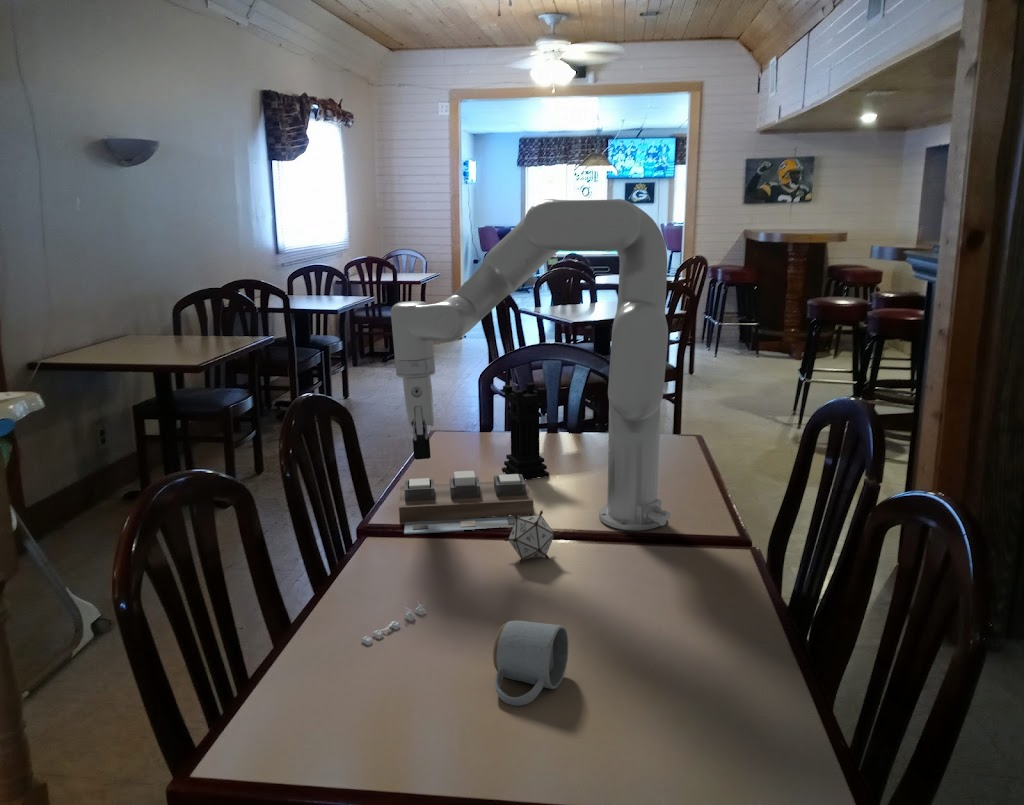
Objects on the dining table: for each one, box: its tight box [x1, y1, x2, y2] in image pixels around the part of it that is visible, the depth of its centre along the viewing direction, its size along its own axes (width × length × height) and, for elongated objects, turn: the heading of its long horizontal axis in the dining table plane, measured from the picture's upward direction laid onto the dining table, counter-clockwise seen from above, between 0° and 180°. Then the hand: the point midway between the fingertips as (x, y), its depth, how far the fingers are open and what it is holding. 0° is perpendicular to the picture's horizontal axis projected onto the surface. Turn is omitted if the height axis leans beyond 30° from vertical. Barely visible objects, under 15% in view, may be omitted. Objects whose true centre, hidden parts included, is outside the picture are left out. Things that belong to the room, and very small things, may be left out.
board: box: [398, 474, 534, 535], centre depth 158 cm, size 18×26×5 cm
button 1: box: [408, 477, 430, 489], centre depth 160 cm, size 4×4×2 cm
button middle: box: [453, 470, 476, 486], centre depth 161 cm, size 4×4×2 cm
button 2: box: [499, 474, 520, 484], centre depth 162 cm, size 4×4×2 cm
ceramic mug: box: [492, 620, 569, 707], centre depth 102 cm, size 11×8×8 cm
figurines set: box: [361, 600, 426, 646], centre depth 117 cm, size 12×3×3 cm, turn 141°
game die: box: [503, 509, 560, 565], centre depth 138 cm, size 9×8×10 cm
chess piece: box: [501, 382, 550, 480], centre depth 179 cm, size 8×8×20 cm
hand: (422, 457), depth 158 cm, fingers closed
